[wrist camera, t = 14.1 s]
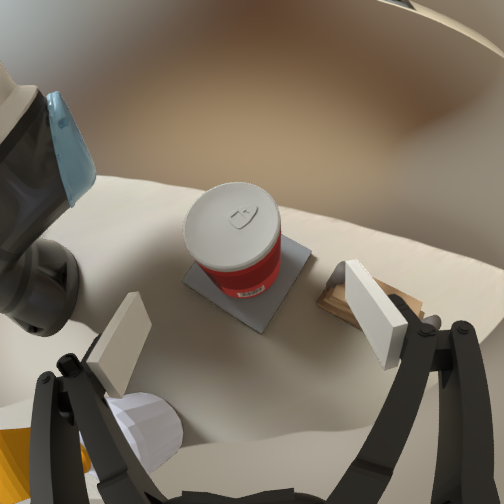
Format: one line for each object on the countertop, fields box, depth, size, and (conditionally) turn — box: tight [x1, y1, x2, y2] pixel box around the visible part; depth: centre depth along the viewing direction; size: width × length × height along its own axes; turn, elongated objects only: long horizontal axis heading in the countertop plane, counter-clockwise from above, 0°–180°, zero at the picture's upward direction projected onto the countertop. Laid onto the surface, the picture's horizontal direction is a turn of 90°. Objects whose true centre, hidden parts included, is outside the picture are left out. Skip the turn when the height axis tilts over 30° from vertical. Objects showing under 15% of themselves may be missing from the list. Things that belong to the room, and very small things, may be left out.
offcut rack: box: [316, 261, 441, 331], centre depth 26 cm, size 12×5×7 cm, turn 57°
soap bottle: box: [0, 392, 183, 504], centre depth 15 cm, size 9×9×25 cm
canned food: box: [183, 182, 281, 298], centre depth 26 cm, size 8×8×11 cm
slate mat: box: [182, 234, 312, 334], centre depth 32 cm, size 11×11×1 cm
